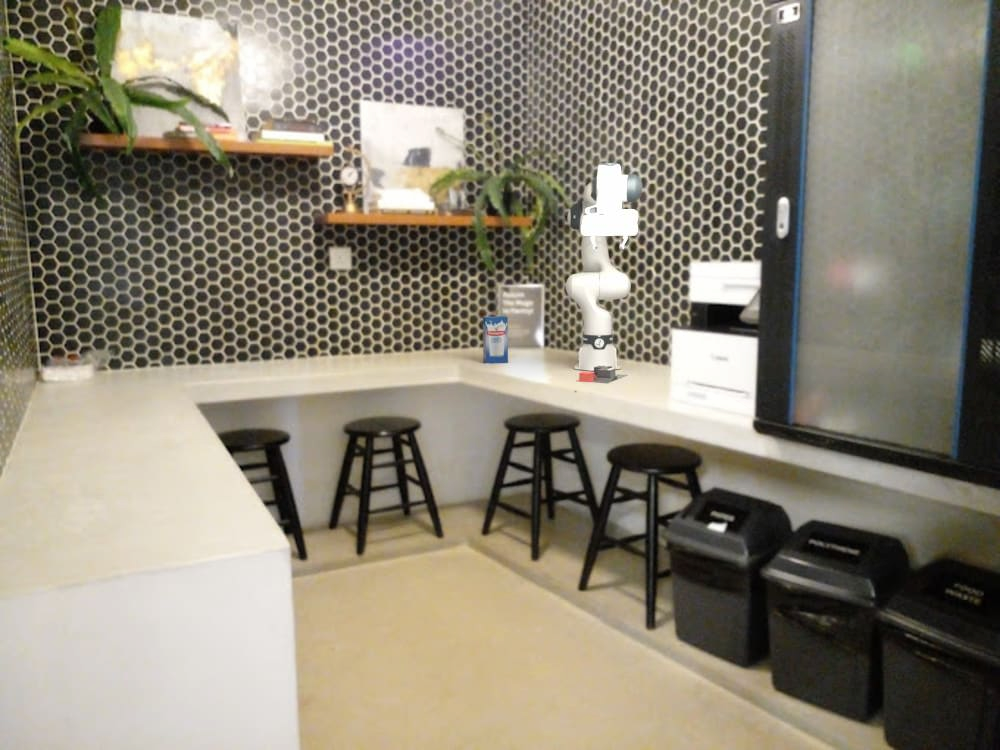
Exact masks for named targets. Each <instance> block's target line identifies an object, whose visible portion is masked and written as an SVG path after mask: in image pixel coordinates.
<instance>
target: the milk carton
mask: <svg viewBox="0 0 1000 750" xmlns="http://www.w3.org/2000/svg"><path fill="white" fill-rule="evenodd" d="M508 318H509V317H508V316H502V315H501V316H482V341H483V342H482V346H483V347H482V350H483V351H482V352H483V355H482V356H483V357H482V358H483V363H484V362H485V364H486V363H491V364H508V363H509V346H508V345H509V343H508V342H509V333H508V332H509V331H508V329H509V328H508V326H509V324H508V323H509V322H508V321H509V319H508Z"/></svg>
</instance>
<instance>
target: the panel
mask: <svg viewBox="0 0 1000 750" xmlns="http://www.w3.org/2000/svg"><path fill="white" fill-rule="evenodd" d="M601 368H610V369H611V368H612V366H596V367H594V371H593V372H594V381H592V382H591V383H596V384H597V383H598V384H610V383H612V382H615V381H618V380H620V379H624V378H625V377H628V376H629V375H628V374H617V373H615V379H613V380H612V378H597V370H598V369H601ZM576 382H580V383H582V382H581V381H579V379H578V380H576Z"/></svg>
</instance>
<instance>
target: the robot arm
mask: <svg viewBox="0 0 1000 750" xmlns="http://www.w3.org/2000/svg"><path fill="white" fill-rule="evenodd" d="M596 174H597V175H596V176H595V177H593V179H591V180H590V182H589V183H588V184H587V185H586V186H585V188H584V190H583V201H580V199H578V200H577V201H576V203H574V204H572V206H570V208H569V210H568V212H567V222H568V226H569V227H570V228H571V229H572V230H576V231H579V233H580V234H579V235H580V236H581V237H582V239H581V244H580V245H581V247H580V248H581V249H580V253H581V263H582V267H583V270H584V272H578V273H574V274H571V275H569V276H568V278H567V280H566V283H565V291H566V293H567V295H568V296H569V298H570V299H572V300H573V301H574V302H575V303H576V304H577V305H578V307H579V308H580V310H581V313H582V318H583V334H582V343H583V344H582V346H581V347H580V348H579V350H578V351H577V363H576V364H575V365H574V367H573V368H574V370H582V371H588V372H594V367H596V366H612V368H613V369H615V370H620V369H622V367H621V365H618V364H617V362H618V361H617V348H616V347H615V346H614V345H613V342H614V337H613V335H614V334H612V329H613V328H612V327H613V326H612V325H613V324H612V323H613V319H612V315H611V313H610V312H609V311H607V310H606V309H604V308H603V307H600V306H598V304H597V302H598V301H604V300H606V301H607V300H609V301H611V300H613V301H615V300H618V299H623V298H626V297H627V296H628V295H629V293H630V292H631V288H632V287H631V286H632V285H631V280H630V278H629V276H628V275H627V274H626V273H623V272H621V271H620V270H618V269H617V268H616V267H615V266H614V265H613V264H612V262H611V260H610V256H609V255H610V254H609V247H608V243H607V239H606V238H607V237H622V240H623V241H622V243H619V245H618V246H619V250H624V249H625V244H626V243H627V241H628V237H634V236H636V235H637V234H638V220H639V212H638V211H637V210H635V209H631V208H630V209H623V208H622V203H636V202H637V201H638V200H639V199H641V196H642V193H643V182H642V179H641V178H640V177H639V176H638V175H637V174H636V173H633V174H631V173H630V174H622V170H621V165H620V164H619V163H616V162H613V163H612V162H603V163H602V162H601V163H599V165H598V167H597V173H596Z"/></svg>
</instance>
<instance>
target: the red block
mask: <svg viewBox="0 0 1000 750" xmlns="http://www.w3.org/2000/svg"><path fill="white" fill-rule="evenodd" d="M578 380H579V381H581V382H580V383H593V382H592V381H594V371H581V372H579V373H578Z"/></svg>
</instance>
